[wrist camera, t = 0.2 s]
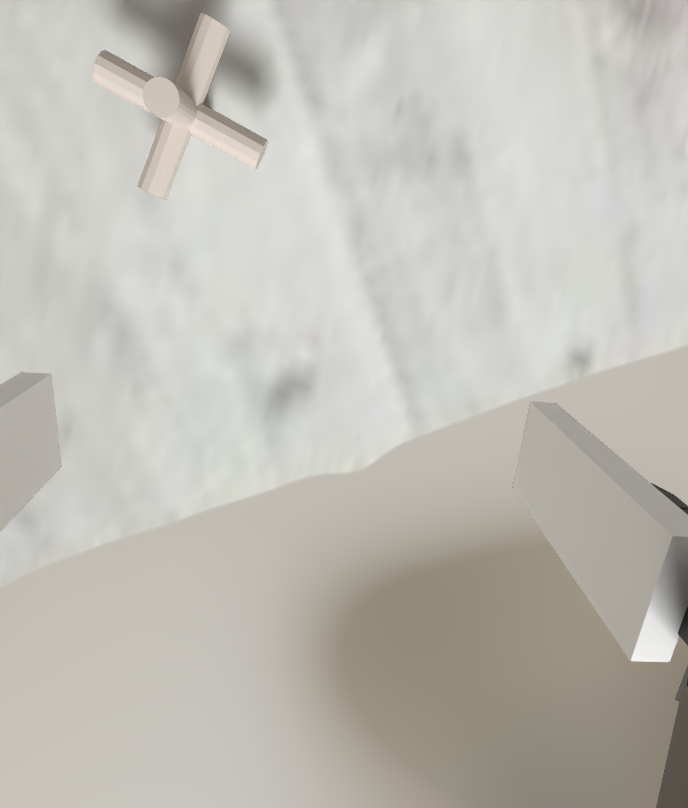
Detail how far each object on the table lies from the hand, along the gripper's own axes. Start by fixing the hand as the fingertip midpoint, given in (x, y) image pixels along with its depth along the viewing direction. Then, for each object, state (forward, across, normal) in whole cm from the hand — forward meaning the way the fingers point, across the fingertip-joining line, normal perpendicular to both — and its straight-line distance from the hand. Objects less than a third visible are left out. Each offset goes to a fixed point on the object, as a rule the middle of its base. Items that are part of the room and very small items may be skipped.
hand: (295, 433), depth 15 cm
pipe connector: (+28, -8, +10) cm, 31 cm away
